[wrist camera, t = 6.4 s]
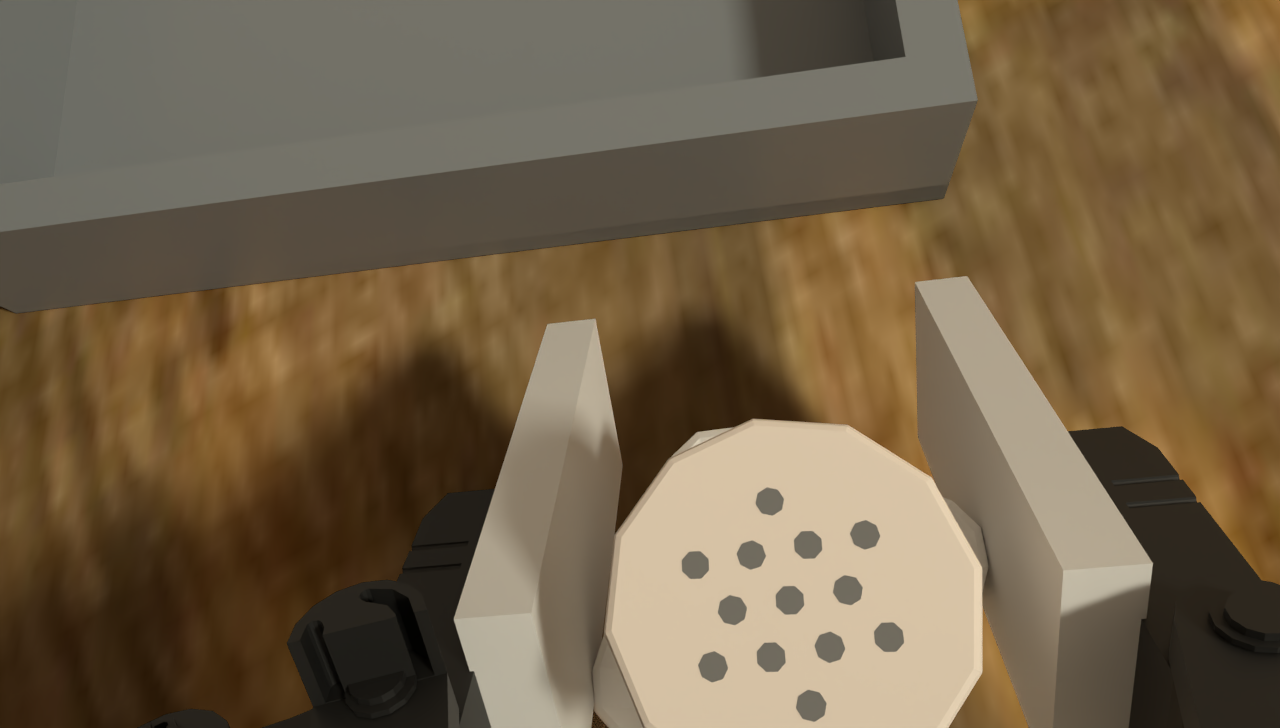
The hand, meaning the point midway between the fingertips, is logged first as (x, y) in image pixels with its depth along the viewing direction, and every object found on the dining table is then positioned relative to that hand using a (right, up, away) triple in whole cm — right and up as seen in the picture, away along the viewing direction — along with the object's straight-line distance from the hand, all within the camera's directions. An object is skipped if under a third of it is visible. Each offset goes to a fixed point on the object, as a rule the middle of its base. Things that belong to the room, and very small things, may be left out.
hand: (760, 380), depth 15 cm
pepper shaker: (+1, -5, +2) cm, 5 cm away
